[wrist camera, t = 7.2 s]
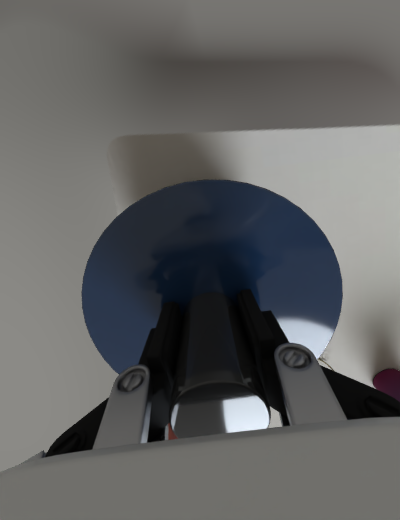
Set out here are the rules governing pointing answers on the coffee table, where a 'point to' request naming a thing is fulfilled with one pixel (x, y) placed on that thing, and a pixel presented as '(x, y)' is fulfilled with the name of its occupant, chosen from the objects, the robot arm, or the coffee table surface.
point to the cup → (388, 382)
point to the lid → (211, 292)
